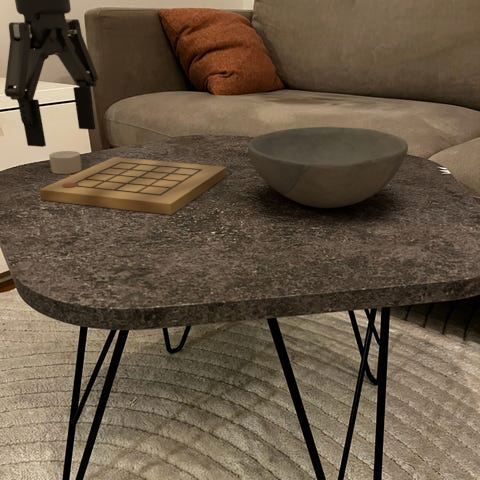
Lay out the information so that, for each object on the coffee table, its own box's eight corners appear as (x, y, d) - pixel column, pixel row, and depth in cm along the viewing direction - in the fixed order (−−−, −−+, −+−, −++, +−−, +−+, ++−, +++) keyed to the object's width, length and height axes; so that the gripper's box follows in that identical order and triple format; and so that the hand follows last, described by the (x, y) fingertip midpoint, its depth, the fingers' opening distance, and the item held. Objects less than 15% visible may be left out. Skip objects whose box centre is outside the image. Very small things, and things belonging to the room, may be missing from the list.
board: (40, 200, 82) (39, 188, 81) (114, 166, 98) (113, 156, 98) (171, 215, 76) (170, 202, 75) (226, 176, 93) (226, 166, 92)
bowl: (429, 218, 74) (439, 154, 71) (269, 230, 71) (270, 163, 67) (364, 175, 93) (369, 122, 89) (234, 183, 89) (233, 128, 85)
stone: (45, 172, 95) (42, 156, 94) (63, 165, 99) (60, 150, 98) (71, 175, 93) (68, 158, 92) (87, 168, 97) (85, 152, 96)
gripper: (2, -20, 72) (34, 155, 82) (109, -17, 93) (123, 123, 103) (-47, -19, 74) (-10, 152, 84) (68, -16, 95) (86, 121, 105)
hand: (63, 137), depth 94 cm, fingers open, 13 cm apart
